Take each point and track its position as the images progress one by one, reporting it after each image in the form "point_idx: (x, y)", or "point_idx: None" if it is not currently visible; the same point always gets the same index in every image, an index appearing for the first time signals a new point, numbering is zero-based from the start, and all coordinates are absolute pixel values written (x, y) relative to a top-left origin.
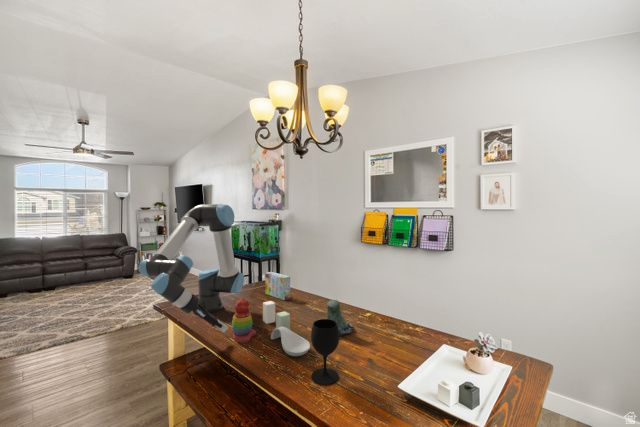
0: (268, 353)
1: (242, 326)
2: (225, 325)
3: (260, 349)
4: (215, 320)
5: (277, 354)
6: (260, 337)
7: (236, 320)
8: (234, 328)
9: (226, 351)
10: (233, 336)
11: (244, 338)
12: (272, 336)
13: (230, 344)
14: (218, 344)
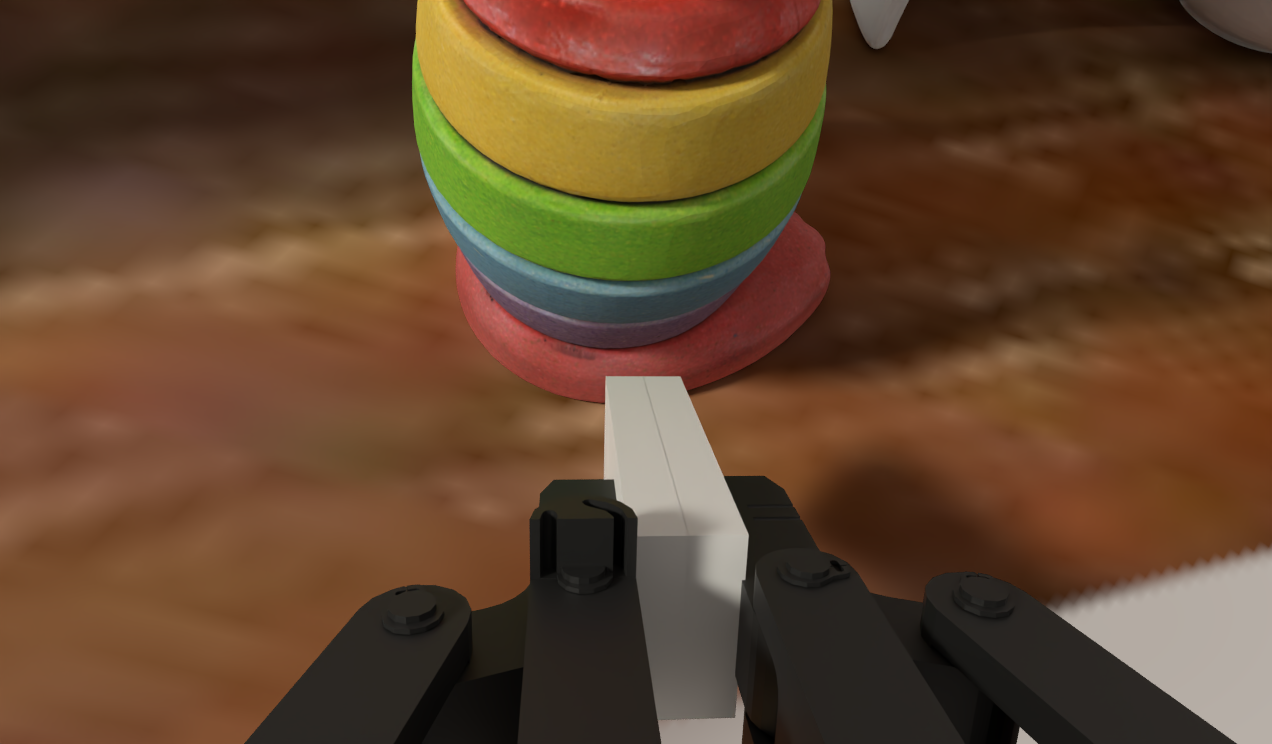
0: (1208, 188)
1: (815, 154)
2: (674, 404)
3: (1082, 220)
4: (1106, 677)
5: (1254, 130)
6: None
7: (755, 139)
8: (699, 288)
9: None
10: None
11: (805, 271)
12: (903, 8)
13: None
14: None
